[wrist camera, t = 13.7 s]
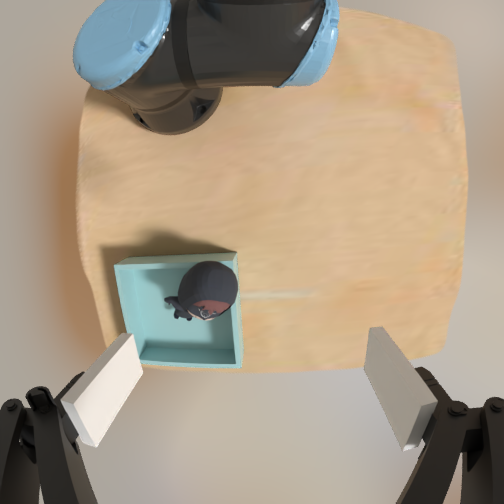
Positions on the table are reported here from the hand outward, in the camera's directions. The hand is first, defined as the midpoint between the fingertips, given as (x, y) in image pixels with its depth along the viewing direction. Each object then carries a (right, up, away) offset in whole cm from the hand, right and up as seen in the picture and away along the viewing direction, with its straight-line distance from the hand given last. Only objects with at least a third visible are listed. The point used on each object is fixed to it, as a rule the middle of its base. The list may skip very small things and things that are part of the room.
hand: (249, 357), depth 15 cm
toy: (-11, -4, +31) cm, 34 cm away
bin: (-11, -3, +33) cm, 35 cm away
